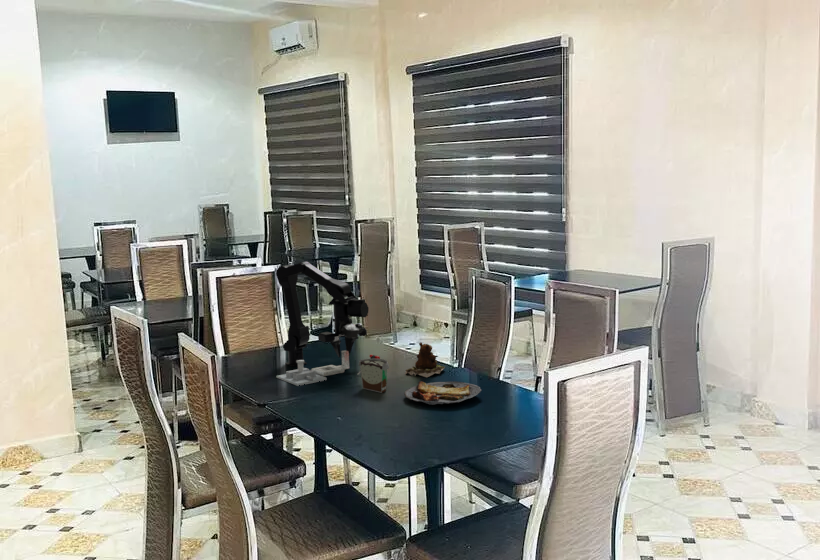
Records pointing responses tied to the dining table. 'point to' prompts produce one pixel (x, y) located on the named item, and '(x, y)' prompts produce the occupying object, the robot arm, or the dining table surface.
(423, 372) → the bear figurine
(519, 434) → the dining table surface
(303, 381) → the plate with round-ended peg
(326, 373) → the square frame with handle
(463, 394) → the food plate
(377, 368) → the food container
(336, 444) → the dining table surface
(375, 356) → the tow hook
